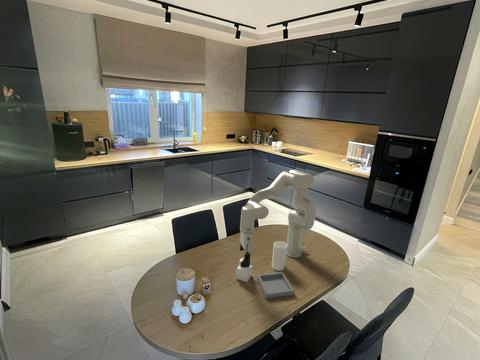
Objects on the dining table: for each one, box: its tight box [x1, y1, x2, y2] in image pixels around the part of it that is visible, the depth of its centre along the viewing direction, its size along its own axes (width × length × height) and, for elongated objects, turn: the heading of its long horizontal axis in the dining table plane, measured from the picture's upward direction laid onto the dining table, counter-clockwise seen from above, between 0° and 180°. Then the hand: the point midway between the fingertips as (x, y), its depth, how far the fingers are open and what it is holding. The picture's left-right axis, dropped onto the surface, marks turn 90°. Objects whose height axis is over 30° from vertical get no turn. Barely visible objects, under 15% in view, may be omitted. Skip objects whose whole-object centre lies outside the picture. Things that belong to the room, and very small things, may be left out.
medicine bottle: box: [235, 257, 253, 283], centre depth 149 cm, size 7×7×12 cm
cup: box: [271, 240, 287, 272], centre depth 160 cm, size 8×8×16 cm
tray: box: [256, 271, 295, 300], centre depth 144 cm, size 16×16×3 cm
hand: (244, 255), depth 146 cm, fingers open, 9 cm apart
